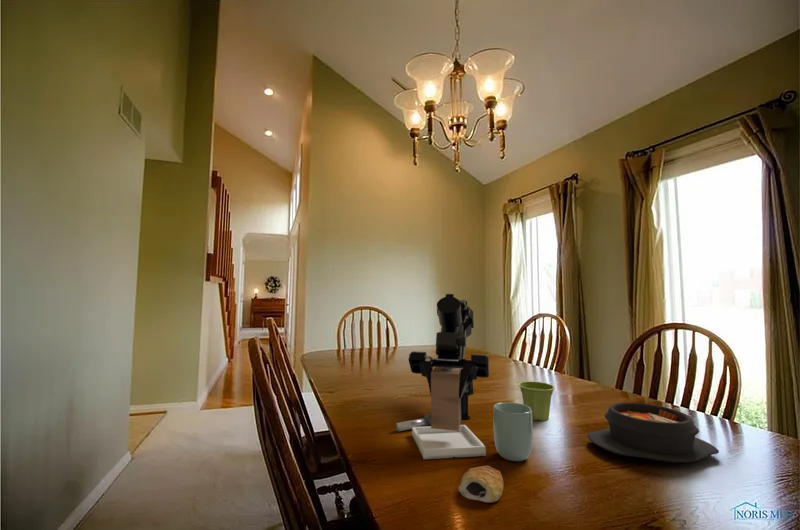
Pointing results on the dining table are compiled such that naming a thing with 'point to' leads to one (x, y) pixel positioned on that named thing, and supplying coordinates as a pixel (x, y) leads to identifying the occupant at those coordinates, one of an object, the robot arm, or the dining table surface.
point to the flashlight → (414, 423)
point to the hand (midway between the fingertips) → (445, 396)
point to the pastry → (482, 484)
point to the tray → (447, 443)
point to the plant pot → (537, 398)
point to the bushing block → (445, 398)
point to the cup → (512, 430)
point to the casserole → (651, 434)
